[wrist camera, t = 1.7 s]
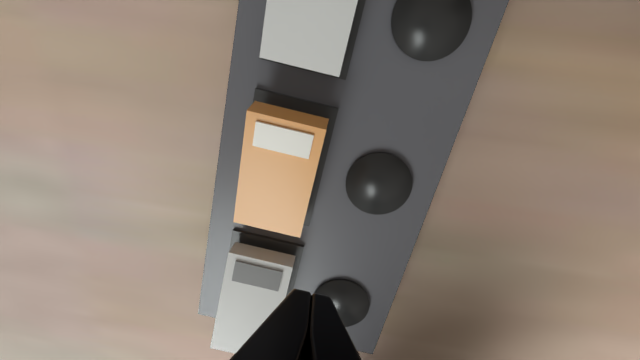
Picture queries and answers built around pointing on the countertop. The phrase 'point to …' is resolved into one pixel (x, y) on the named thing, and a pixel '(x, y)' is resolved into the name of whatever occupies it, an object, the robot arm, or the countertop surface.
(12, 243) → the countertop surface
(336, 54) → the rocker
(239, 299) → the rocker
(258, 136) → the block
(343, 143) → the power strip
